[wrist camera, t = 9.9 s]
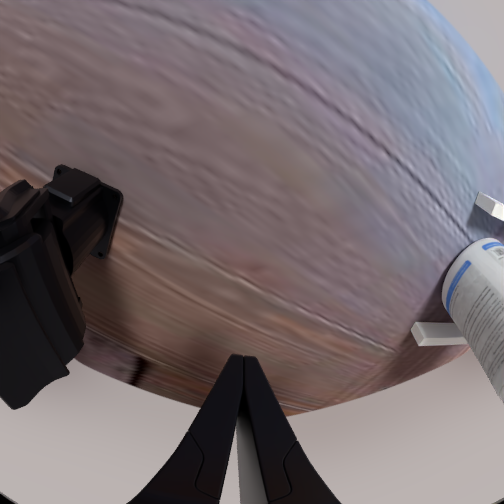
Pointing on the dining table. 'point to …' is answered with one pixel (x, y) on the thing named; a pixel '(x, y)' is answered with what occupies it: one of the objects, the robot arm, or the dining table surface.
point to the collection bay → (449, 331)
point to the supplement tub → (480, 304)
